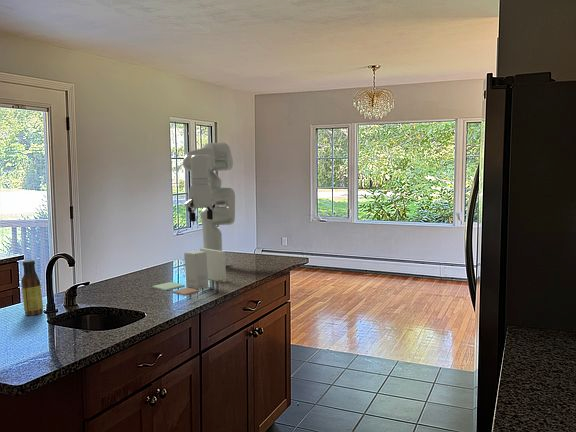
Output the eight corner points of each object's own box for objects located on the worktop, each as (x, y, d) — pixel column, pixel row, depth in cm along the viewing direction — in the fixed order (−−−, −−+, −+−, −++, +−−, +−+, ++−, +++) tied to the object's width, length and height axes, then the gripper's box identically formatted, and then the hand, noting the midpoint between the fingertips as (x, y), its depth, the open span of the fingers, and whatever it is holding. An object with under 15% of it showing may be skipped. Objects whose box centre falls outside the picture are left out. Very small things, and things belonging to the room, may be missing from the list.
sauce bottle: (47, 311, 198) (43, 259, 196) (35, 316, 192) (31, 262, 190) (31, 310, 199) (28, 259, 197) (20, 315, 193) (15, 262, 191)
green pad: (171, 283, 241) (170, 281, 241) (184, 286, 234) (184, 285, 234) (152, 287, 233) (152, 286, 233) (165, 290, 227) (165, 289, 226)
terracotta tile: (187, 288, 229) (187, 287, 229) (199, 291, 224) (199, 290, 224) (172, 292, 223) (172, 291, 223) (183, 295, 218) (183, 294, 218)
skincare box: (208, 286, 232) (207, 251, 231) (196, 289, 228) (195, 253, 226) (197, 284, 238) (195, 249, 236) (185, 286, 233) (183, 251, 232)
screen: (205, 276, 253) (204, 247, 251) (228, 281, 242) (227, 251, 241) (199, 278, 250) (197, 248, 248) (221, 282, 239) (220, 252, 238)
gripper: (209, 181, 246) (211, 218, 248) (179, 183, 233) (180, 221, 235) (220, 181, 241) (221, 219, 243) (189, 183, 228) (191, 222, 230)
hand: (201, 220), depth 239 cm, fingers open, 9 cm apart
